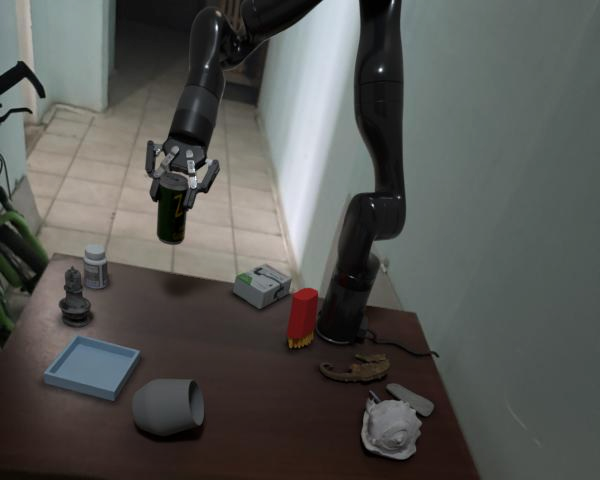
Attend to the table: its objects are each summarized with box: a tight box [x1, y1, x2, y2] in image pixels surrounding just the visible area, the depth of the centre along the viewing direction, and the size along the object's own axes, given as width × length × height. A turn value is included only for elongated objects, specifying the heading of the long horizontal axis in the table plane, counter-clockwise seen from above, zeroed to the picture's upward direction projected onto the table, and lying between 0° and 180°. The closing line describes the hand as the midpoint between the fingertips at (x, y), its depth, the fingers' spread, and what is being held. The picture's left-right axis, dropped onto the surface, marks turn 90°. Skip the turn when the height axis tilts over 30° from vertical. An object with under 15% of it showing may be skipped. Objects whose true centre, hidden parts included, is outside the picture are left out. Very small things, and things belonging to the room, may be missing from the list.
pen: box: [368, 389, 382, 404], centre depth 104 cm, size 1×1×14 cm
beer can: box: [156, 172, 190, 246], centre depth 99 cm, size 5×5×12 cm
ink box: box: [232, 263, 293, 310], centre depth 125 cm, size 9×5×12 cm
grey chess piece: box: [58, 265, 92, 328], centre depth 99 cm, size 6×6×12 cm
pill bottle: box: [82, 243, 109, 290], centre depth 111 cm, size 5×5×8 cm
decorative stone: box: [385, 382, 435, 417], centre depth 108 cm, size 11×1×5 cm
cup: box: [131, 378, 205, 437], centre depth 85 cm, size 10×9×10 cm
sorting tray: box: [43, 333, 141, 402], centre depth 93 cm, size 12×12×2 cm
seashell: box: [360, 397, 423, 461], centre depth 95 cm, size 12×14×10 cm
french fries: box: [286, 287, 319, 349], centre depth 112 cm, size 8×4×12 cm, turn 145°
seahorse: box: [318, 352, 392, 384], centre depth 111 cm, size 9×16×3 cm, turn 123°
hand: (169, 204), depth 96 cm, fingers closed on beer can, 5 cm apart
